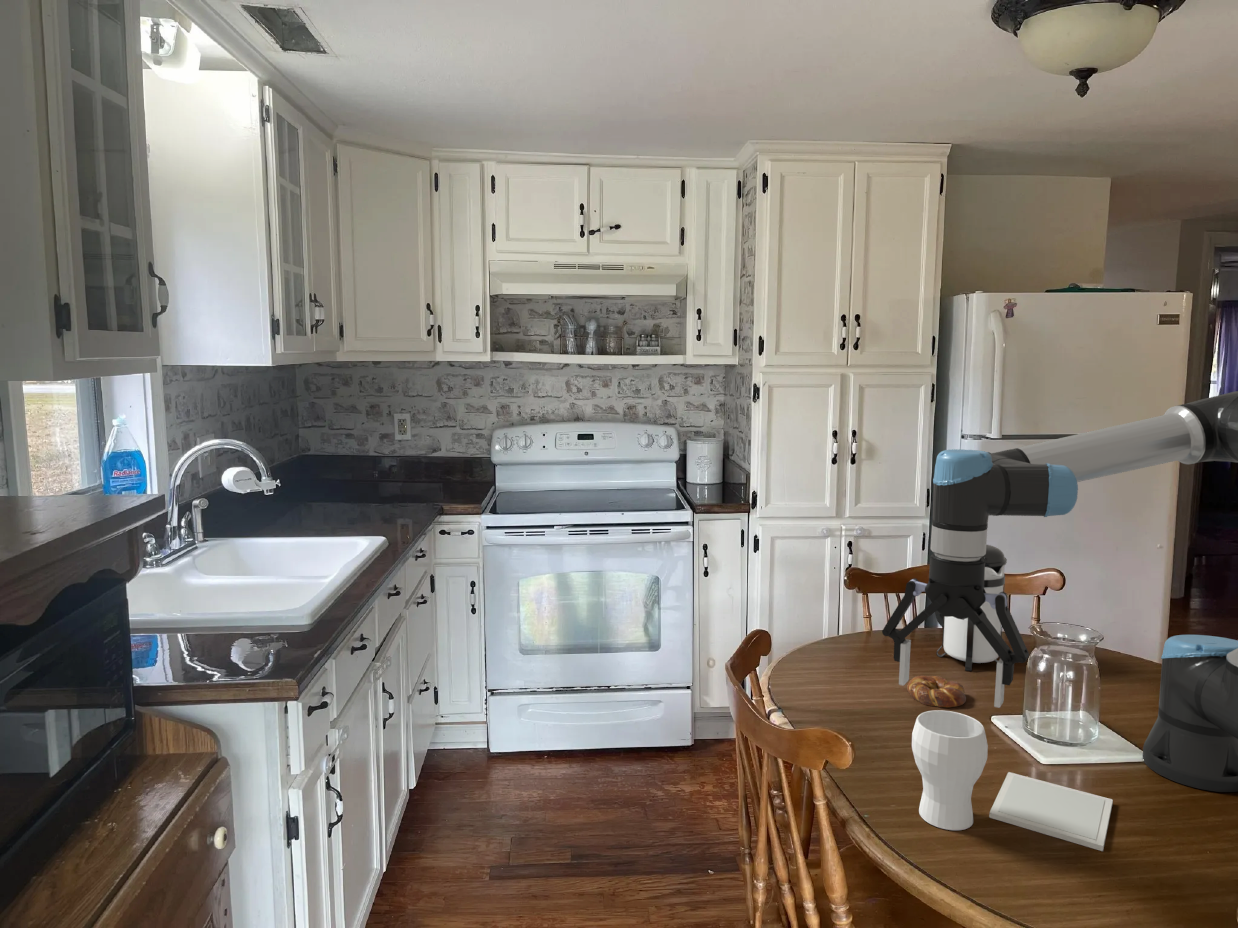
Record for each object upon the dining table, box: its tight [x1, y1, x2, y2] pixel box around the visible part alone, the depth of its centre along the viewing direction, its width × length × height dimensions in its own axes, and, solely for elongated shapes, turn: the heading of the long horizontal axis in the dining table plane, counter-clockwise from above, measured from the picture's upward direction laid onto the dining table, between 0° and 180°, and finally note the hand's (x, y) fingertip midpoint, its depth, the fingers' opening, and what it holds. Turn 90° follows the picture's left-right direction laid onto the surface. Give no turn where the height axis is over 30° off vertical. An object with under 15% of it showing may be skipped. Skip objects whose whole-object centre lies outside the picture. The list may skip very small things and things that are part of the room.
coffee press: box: [934, 544, 1008, 672], centre depth 186 cm, size 17×16×30 cm
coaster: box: [988, 771, 1113, 852], centre depth 125 cm, size 15×15×1 cm
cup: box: [911, 709, 989, 831], centre depth 123 cm, size 11×11×15 cm
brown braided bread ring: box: [906, 675, 967, 708], centre depth 167 cm, size 12×11×4 cm
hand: (949, 693), depth 121 cm, fingers open, 13 cm apart
